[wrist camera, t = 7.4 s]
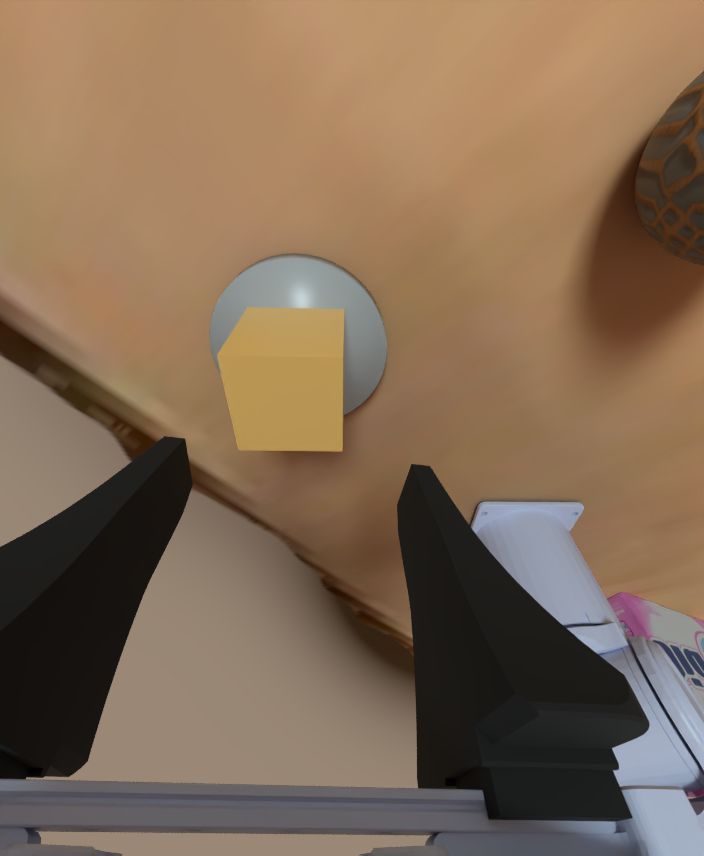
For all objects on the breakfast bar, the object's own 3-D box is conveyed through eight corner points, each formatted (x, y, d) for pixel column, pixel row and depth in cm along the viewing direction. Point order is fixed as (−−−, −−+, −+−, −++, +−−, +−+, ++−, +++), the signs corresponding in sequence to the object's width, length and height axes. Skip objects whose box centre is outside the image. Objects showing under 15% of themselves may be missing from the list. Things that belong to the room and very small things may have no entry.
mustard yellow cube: (343, 391, 20) (342, 451, 16) (260, 390, 20) (238, 450, 16) (344, 308, 17) (342, 357, 13) (247, 307, 17) (216, 355, 13)
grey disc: (379, 412, 22) (384, 458, 19) (233, 410, 22) (213, 457, 19) (391, 254, 17) (402, 281, 13) (197, 252, 17) (160, 278, 13)
